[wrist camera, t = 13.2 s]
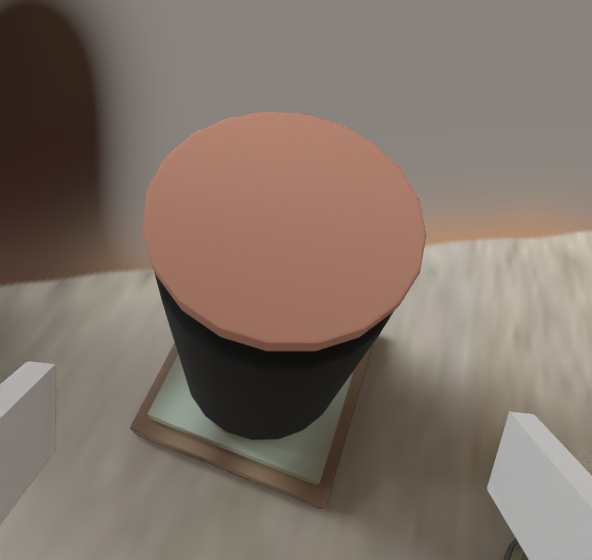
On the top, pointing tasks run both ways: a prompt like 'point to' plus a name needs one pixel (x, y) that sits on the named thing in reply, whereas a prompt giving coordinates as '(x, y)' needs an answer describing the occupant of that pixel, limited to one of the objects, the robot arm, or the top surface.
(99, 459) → the top surface
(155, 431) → the plinth
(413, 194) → the coffee jar
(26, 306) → the top surface
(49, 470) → the top surface
